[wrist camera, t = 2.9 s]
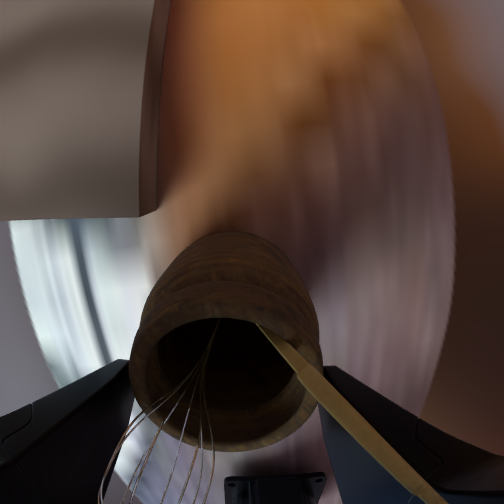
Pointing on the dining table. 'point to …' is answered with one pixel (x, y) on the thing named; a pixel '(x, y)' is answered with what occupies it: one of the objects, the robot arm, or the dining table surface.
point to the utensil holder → (238, 358)
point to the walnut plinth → (80, 107)
